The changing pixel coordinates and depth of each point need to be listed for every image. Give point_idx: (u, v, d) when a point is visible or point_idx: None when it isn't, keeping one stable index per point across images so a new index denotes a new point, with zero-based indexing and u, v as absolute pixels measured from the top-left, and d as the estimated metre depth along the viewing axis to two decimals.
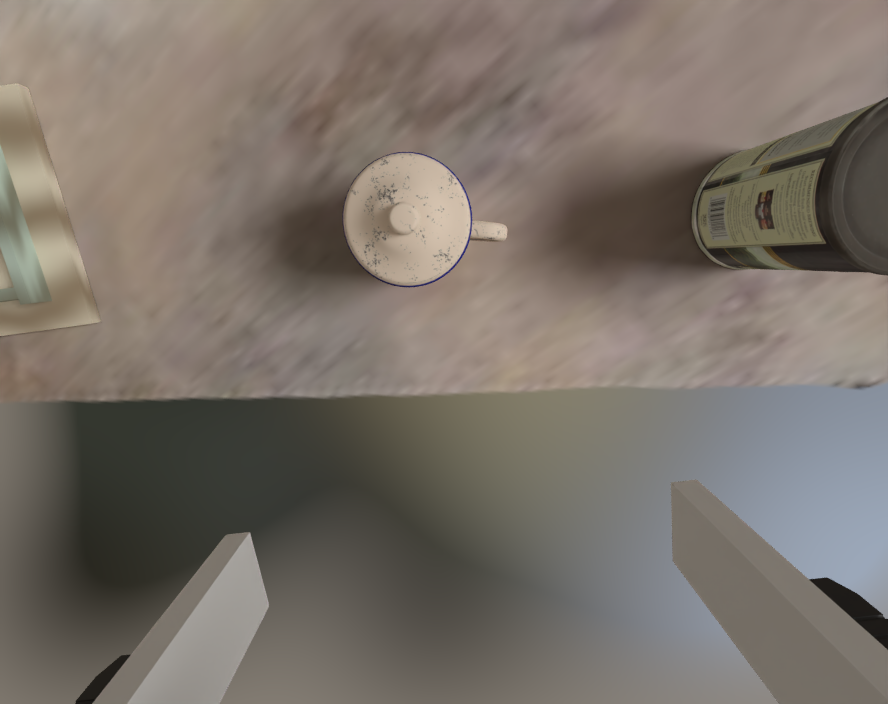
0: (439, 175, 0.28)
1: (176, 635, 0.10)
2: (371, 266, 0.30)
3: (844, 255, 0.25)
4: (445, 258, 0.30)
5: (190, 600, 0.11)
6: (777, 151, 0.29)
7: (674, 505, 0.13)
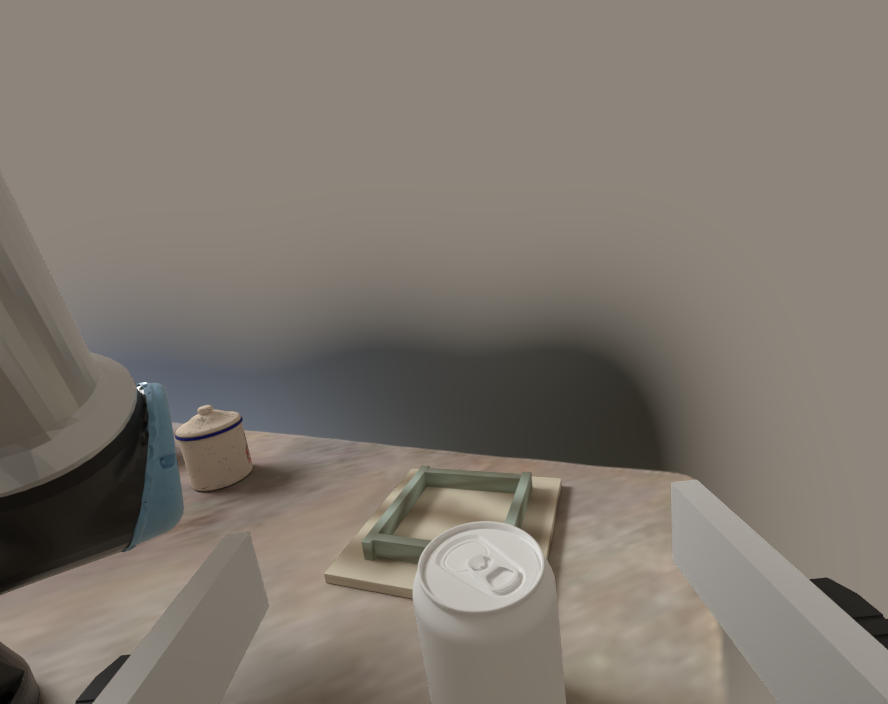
0: (180, 427, 0.63)
1: (176, 635, 0.10)
2: (236, 414, 0.66)
3: None
4: None
5: (190, 600, 0.11)
6: None
7: (674, 505, 0.13)
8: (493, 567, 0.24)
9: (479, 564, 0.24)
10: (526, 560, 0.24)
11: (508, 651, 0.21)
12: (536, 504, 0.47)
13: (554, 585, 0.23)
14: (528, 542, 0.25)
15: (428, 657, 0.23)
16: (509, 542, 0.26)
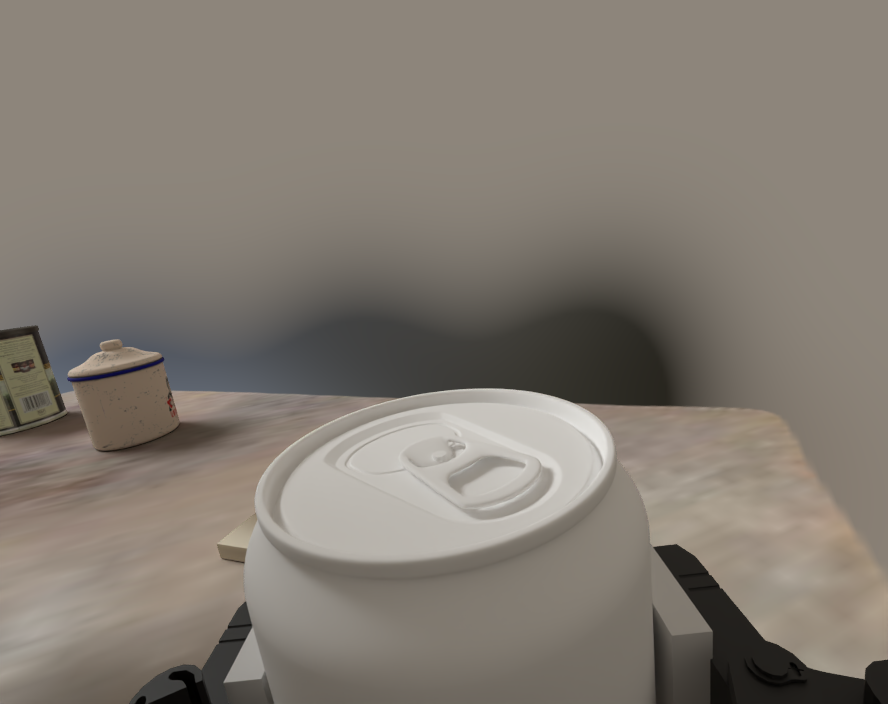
0: None
1: None
2: (155, 353, 0.51)
3: (34, 328, 0.63)
4: None
5: None
6: None
7: None
8: (468, 456, 0.09)
9: (433, 455, 0.09)
10: (558, 442, 0.09)
11: None
12: None
13: (642, 501, 0.08)
14: (558, 416, 0.10)
15: None
16: (512, 417, 0.11)
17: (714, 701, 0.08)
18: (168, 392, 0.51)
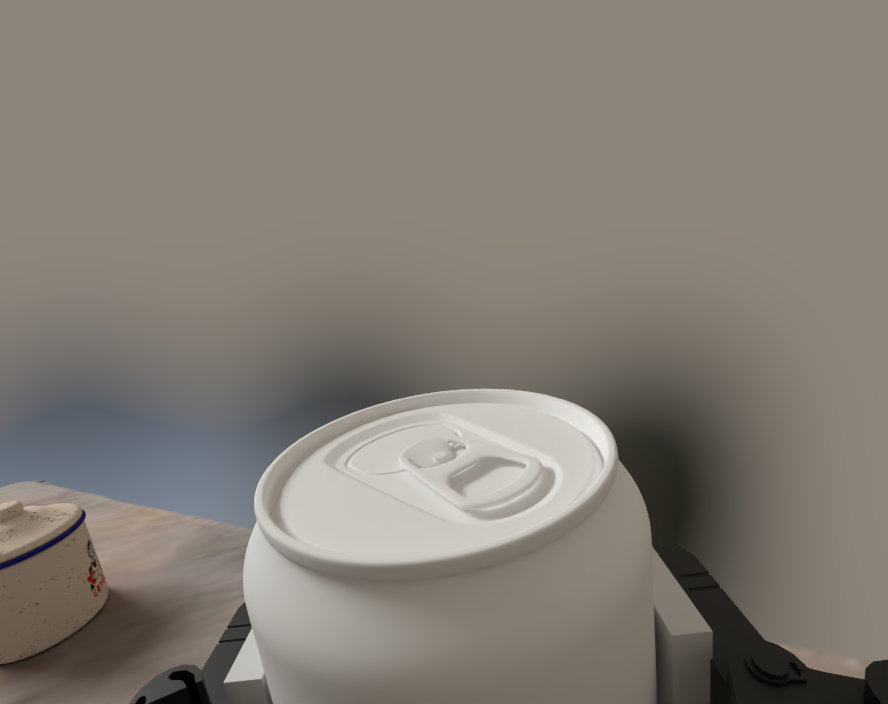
0: None
1: None
2: (71, 514, 0.38)
3: None
4: None
5: None
6: None
7: None
8: (469, 457, 0.08)
9: (433, 456, 0.09)
10: (559, 442, 0.09)
11: None
12: None
13: (643, 502, 0.08)
14: (559, 416, 0.10)
15: None
16: (512, 417, 0.10)
17: (714, 701, 0.08)
18: (90, 563, 0.38)
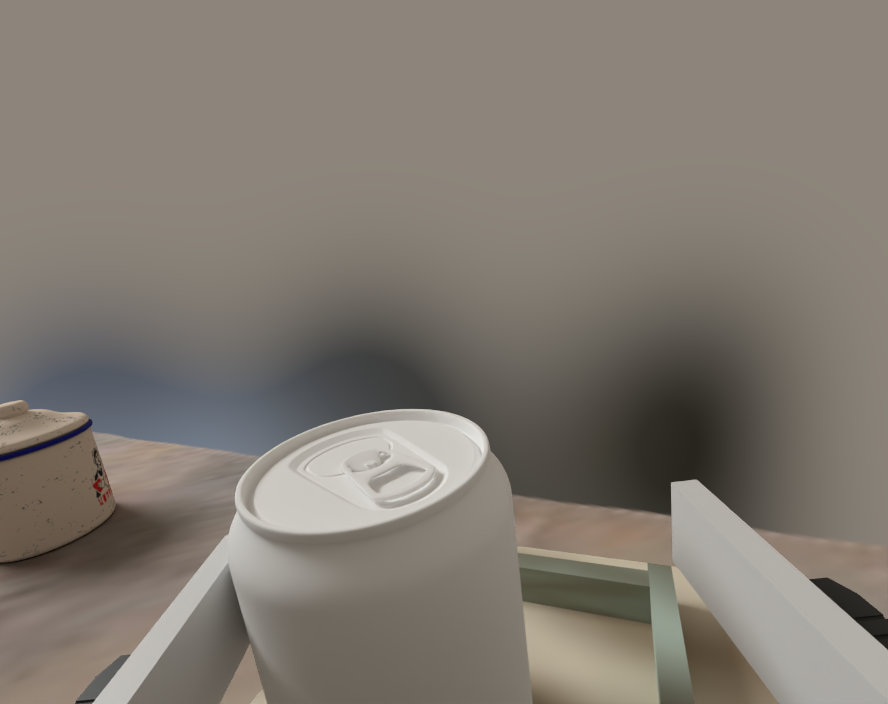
0: None
1: (175, 636, 0.10)
2: (77, 418, 0.36)
3: None
4: None
5: (190, 600, 0.11)
6: None
7: (674, 505, 0.13)
8: (389, 465, 0.12)
9: (366, 463, 0.12)
10: (456, 454, 0.12)
11: (391, 624, 0.09)
12: (708, 670, 0.17)
13: (507, 497, 0.12)
14: (467, 433, 0.14)
15: None
16: (432, 433, 0.14)
17: None
18: (96, 470, 0.37)
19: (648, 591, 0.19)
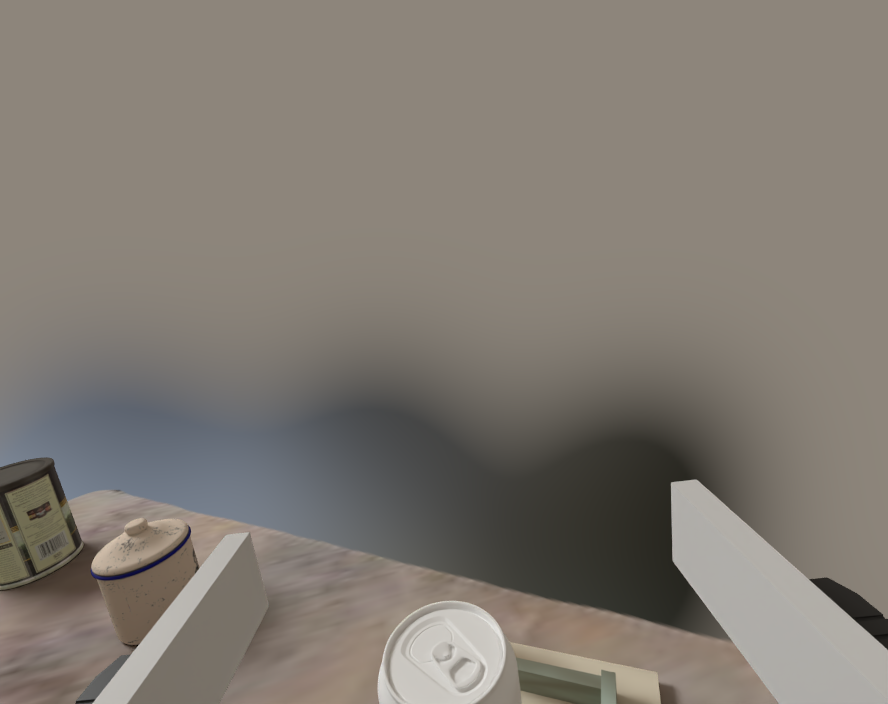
0: (100, 553, 0.45)
1: (176, 635, 0.10)
2: (182, 528, 0.48)
3: (50, 465, 0.60)
4: None
5: (190, 600, 0.11)
6: (0, 534, 0.55)
7: (674, 505, 0.13)
8: (456, 658, 0.24)
9: (443, 654, 0.24)
10: (489, 649, 0.24)
11: None
12: None
13: (516, 675, 0.24)
14: (492, 626, 0.26)
15: None
16: (474, 626, 0.26)
17: None
18: (195, 567, 0.48)
19: (600, 691, 0.31)
